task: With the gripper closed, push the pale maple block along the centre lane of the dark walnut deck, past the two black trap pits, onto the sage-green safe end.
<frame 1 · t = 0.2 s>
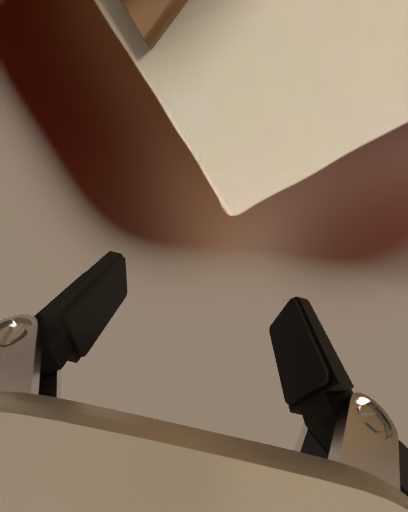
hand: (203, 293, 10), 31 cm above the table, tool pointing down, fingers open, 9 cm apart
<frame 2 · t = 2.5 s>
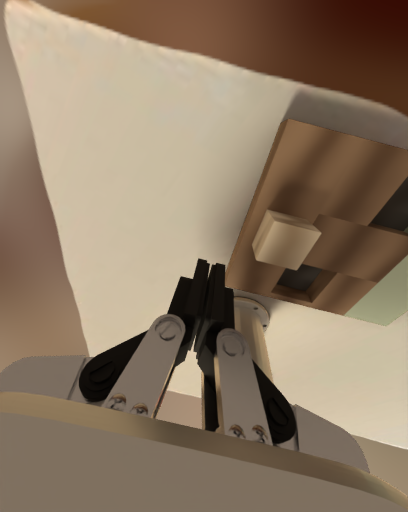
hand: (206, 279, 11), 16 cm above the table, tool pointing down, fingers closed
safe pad: (405, 258, 25), on the table
maple block: (277, 232, 22), point 3 cm above the table, touching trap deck
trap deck: (338, 241, 24), on the table
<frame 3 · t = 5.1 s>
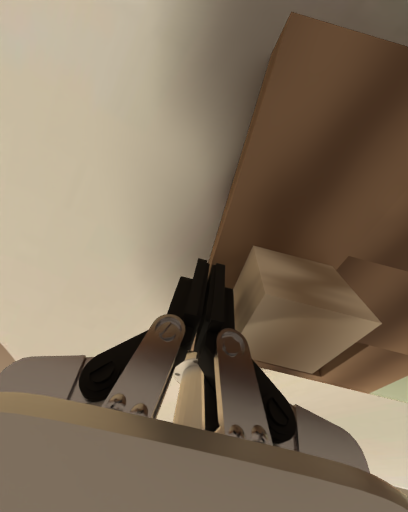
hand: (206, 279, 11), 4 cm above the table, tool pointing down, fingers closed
maple block: (274, 285, 12), point 3 cm above the table, touching gripper
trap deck: (370, 288, 14), on the table
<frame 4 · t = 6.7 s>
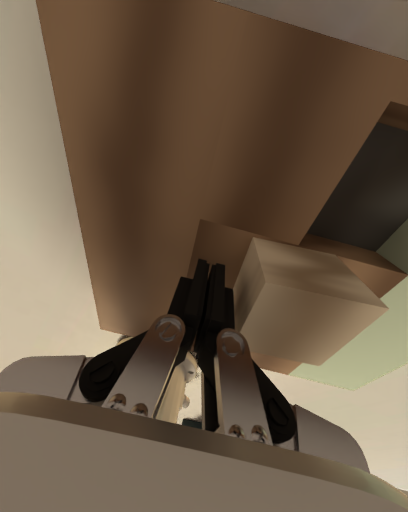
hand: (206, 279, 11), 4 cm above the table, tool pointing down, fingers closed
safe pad: (381, 293, 15), on the table
maple block: (276, 277, 11), point 3 cm above the table, touching gripper, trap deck
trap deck: (269, 264, 14), on the table
watch: (193, 422, 42), on the table
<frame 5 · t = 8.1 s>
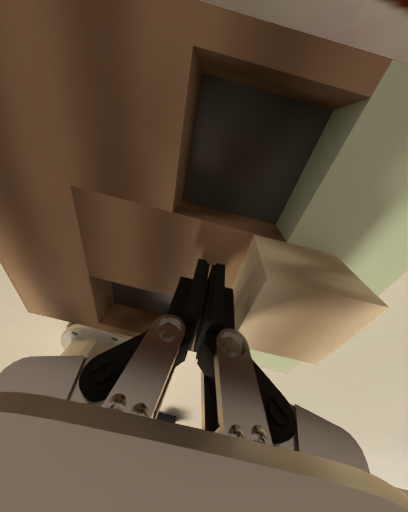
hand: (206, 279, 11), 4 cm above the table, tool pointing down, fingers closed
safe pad: (297, 271, 15), on the table
maple block: (276, 275, 11), point 3 cm above the table, touching gripper
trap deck: (182, 241, 14), on the table
watch: (165, 416, 42), on the table
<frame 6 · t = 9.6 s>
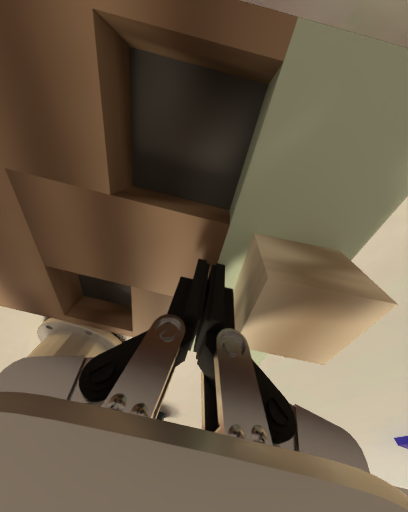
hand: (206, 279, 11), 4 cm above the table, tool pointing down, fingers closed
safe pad: (260, 259, 14), on the table
maple block: (278, 274, 11), point 3 cm above the table, touching gripper, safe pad
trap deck: (141, 230, 14), on the table
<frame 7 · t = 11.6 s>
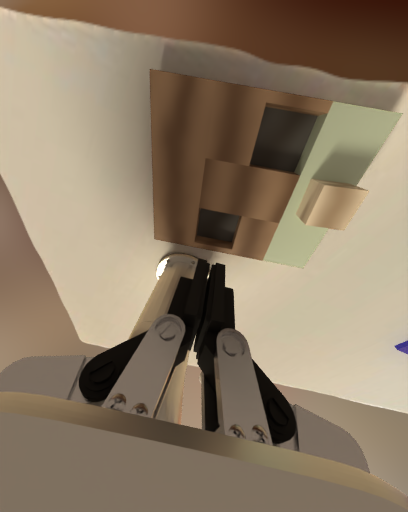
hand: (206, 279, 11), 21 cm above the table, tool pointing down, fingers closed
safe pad: (306, 200, 27), on the table
maple block: (320, 199, 24), point 3 cm above the table, touching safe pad
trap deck: (243, 188, 27), on the table
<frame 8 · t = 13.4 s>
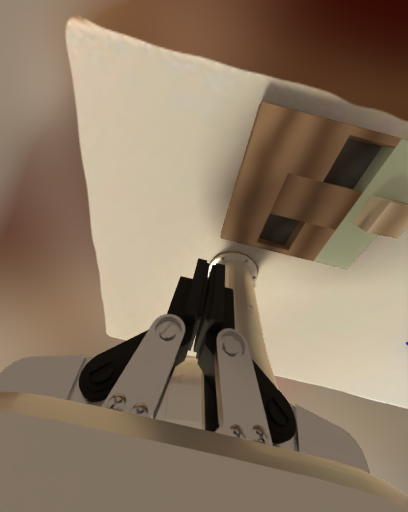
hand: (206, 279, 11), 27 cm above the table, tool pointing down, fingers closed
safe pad: (357, 212, 32), on the table
maple block: (375, 212, 29), point 3 cm above the table, touching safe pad
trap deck: (306, 199, 32), on the table
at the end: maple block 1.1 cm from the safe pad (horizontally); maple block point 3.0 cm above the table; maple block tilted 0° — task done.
